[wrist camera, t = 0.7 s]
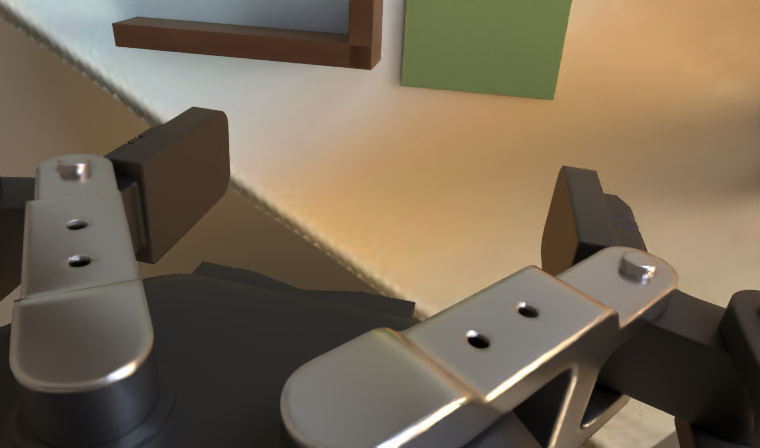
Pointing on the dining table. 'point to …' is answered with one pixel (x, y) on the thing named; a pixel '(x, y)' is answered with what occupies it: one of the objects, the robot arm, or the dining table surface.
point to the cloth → (485, 45)
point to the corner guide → (263, 39)
